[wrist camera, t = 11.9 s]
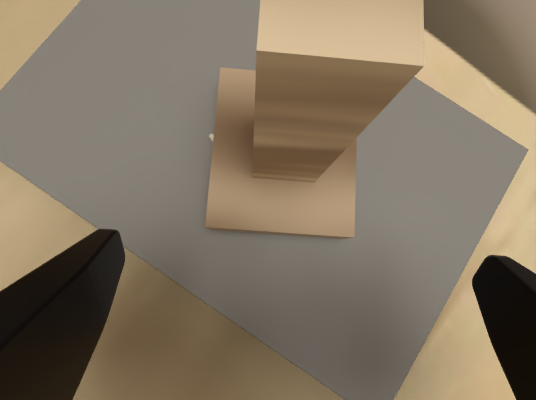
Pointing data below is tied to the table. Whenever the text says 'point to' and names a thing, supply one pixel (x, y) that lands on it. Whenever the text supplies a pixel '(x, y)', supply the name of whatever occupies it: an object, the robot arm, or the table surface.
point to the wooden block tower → (307, 113)
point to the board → (198, 175)
